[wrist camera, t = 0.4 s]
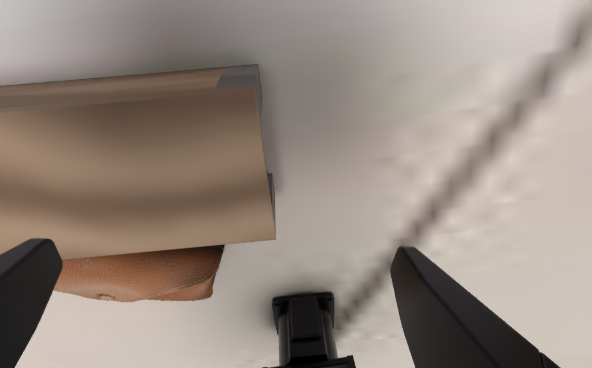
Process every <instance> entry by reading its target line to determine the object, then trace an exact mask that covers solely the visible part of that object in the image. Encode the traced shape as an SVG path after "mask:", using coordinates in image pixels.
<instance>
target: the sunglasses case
mask: <svg viewBox="0 0 592 368" xmlns="http://www.w3.org/2000/svg"><path fill="white" fill-rule="evenodd" d="M223 248H224V246H219V245H213V246H202V247H191V248H181V249H170V250H160V251H149V252H139V253H128V254H118V255H107V256H96V257H86V258H75V259H65V260H62V261H63V268H62V271H61V274H60V276H59V278H58V281H57V283H56V285H55V287H54V290H55V291H59V292H63V293H69V294H74V295H79V296H82V297H86V298H90V299H97V300H107V301H109V300H112V301H120V302H134V301H137V300H144V299H148V300H161V301H165V300H166V301H167V300H170V301H191V300H192V301H194V300H202V299H207V298H210V297H211V295H212V294H213V289H212V287H213V283H214V279H215V275H216V272H217V270H218V267H219V264H220V261H221V257H222V254H223Z"/></svg>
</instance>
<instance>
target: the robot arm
mask: <svg viewBox="0 0 592 368" xmlns="http://www.w3.org/2000/svg"><path fill="white" fill-rule="evenodd" d="M62 268H63V261H62V258H61V256H60V254H59V252H58V250H57V248H56V246H55V244H54V242H53V241H52V240H51V239H48V238H32V239H29V240H27V241H25V242H23V243H21V244H19V245H17V246H15V247H14V248H12V249H10V250H8V251H6V252H4V253H2V254H0V368H15V366H16V364H17V362H18V361H19V359H20V357H21V355H22V353H23V352H24V350H25V348H26V346H27V345H28V343H29V341H30V339H31V337H32V335H33V334H34V332H35V330H36V328H37V326H38V324H39V322H40V319H41V317H42V315H43V313H44V310H45V308H46V306H47V303H48V301H49V299H50V297H51V294H52V292H53V290H54V287H55V285H56V283H57V281H58V278H59V276H60V274H61V271H62ZM390 273H391V278H392V283H393V288H394V292H395V297H396V301H397V306H398V311H399V315H400V320H401V324H402V328H403V331H404V334H405V337H406V340H407V344H408V347H409V350H410V353H411V356H412V359H413V362H414V365H415V368H560V367H559V366H558V365H557V364H555V363H554V362H553V361H552V360H551V359H549V358H548V357H547V356H546V355H544V354H543V353H542V352H539V350H538V349H537V348H536V347H535V346H533V345H532V344H531V343H530V342H529V341H527V340H526V339H525V338H524V337H523V336H521V335H520V334H519V333H518V332H517V331H515V330H514V329H513V328H512V327H511V326H509V325H508V324H507V323H506V322H505V321H503V320H502V319H501V318H500V317H498V316H497V315H496V314H495V313H494V312H492V311H491V310H490V309H489V308H488V307H486V306H485V305H484V304H483V303H482V302H480V301H479V300H478V299H477V298H476V297H474V296H473V295H472V294H471V293H470V292H468V291H467V290H466V289H465V288H463V287H462V286H461V285H460V284H459V283H457V282H456V281H455V280H454V279H453V278H451V277H450V276H449V275H448V274H447V273H445V272H444V271H443V270H442V269H441V268H439V267H438V266H437V265H436V264H435V263H433V262H432V261H431V260H430V259H428V258H427V257H426V256H425V255H424V254H422V253H421V252H420V251H419V250H418V249H416V248H415V247H411V246H401V247H399V248H398V249H397V251H396V254H395V257H394V259H393V262H392V264H391V269H390ZM272 308H273V313H274V318H275V324H276V329H277V334H278V335H279V366H278V367H270V368H356V367H355V362H354V358H353V355H350V356H347V357H343V358H338V356H337V350H336V344H335V338H334V332H333V329H334V296H333V294H332V293H325V294H315V295H304V296H294V297H284V298H275V299H273V300H272ZM262 368H268V367H262Z"/></svg>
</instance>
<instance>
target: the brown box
mask: <svg viewBox="0 0 592 368" xmlns="http://www.w3.org/2000/svg"><path fill="white" fill-rule="evenodd" d="M261 104H262V93H261V85H260V77H259V70H258V64H257V65H245V66H234V67H222V68H210V69H198V70H186V71H175V72H163V73H151V74H139V75H128V76H116V77H104V78H92V79H80V80H69V81H57V82H45V83H33V84H22V85H10V86H0V254H2V253H4V252H6V251H8V250H10V249H12V248H14V247H15V246H17V245H19V244H21V243H23V242H25V241H27V240H29V239H32V238H48V239H51V240H52V241H53V242H54V244H55V246H56V248H57V250H58V252H59V254H60V256H61V258H62V260H65V259H75V258H86V257H96V256H107V255H118V254H128V253H139V252H149V251H160V250H170V249H181V248H191V247H202V246H213V245H223V244H234V243H244V242H255V241H265V240H276V231H275V192H274V184H273V176H272V174H267V170H266V163H265V156H264V149H263V142H262V135H261V128H260V117H261Z"/></svg>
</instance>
